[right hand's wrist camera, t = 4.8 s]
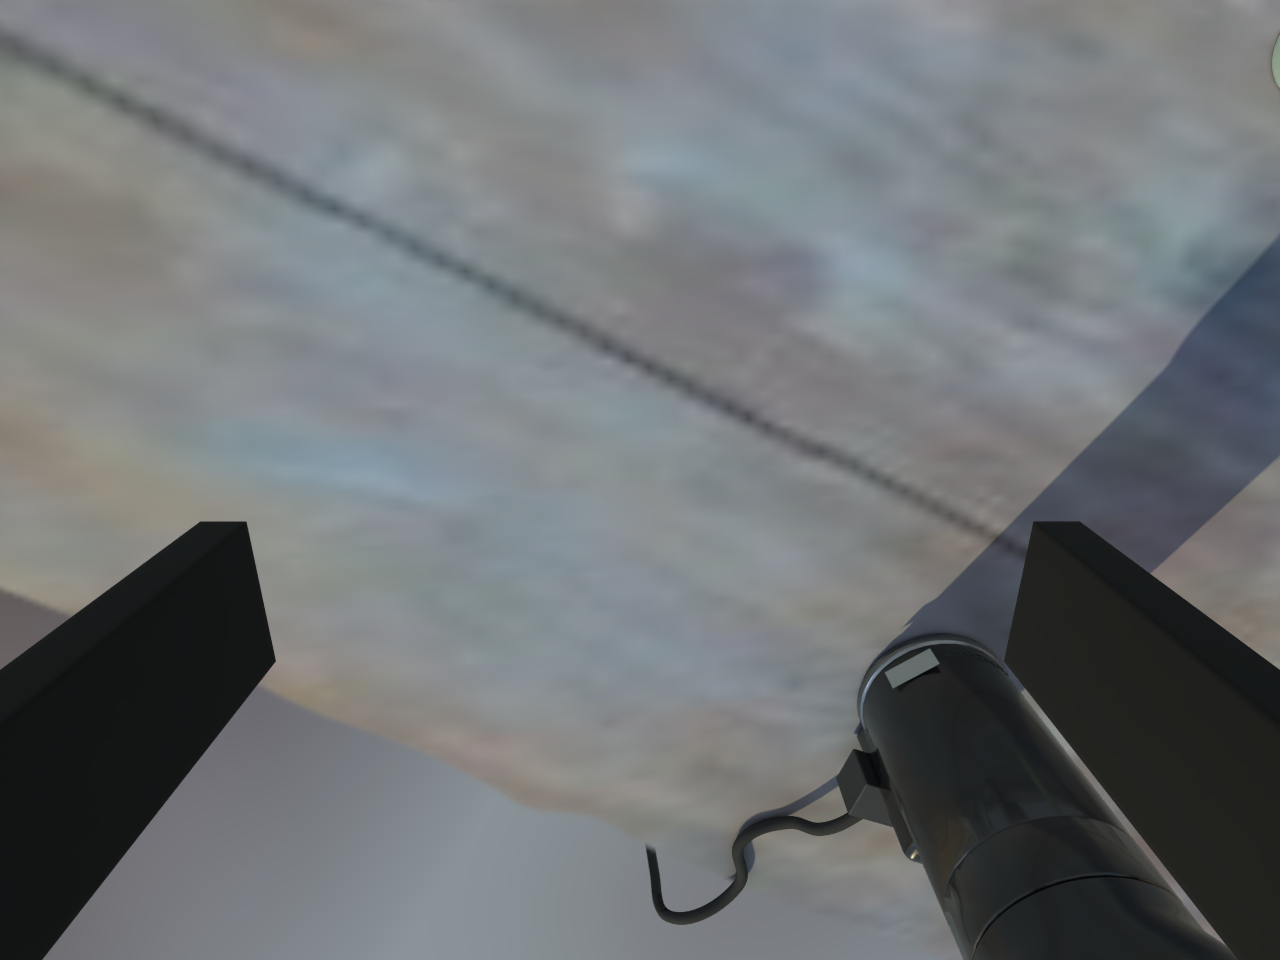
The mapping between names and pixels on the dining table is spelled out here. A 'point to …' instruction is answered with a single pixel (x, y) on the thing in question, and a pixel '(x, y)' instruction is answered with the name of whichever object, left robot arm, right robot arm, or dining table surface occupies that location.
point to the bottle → (1276, 61)
